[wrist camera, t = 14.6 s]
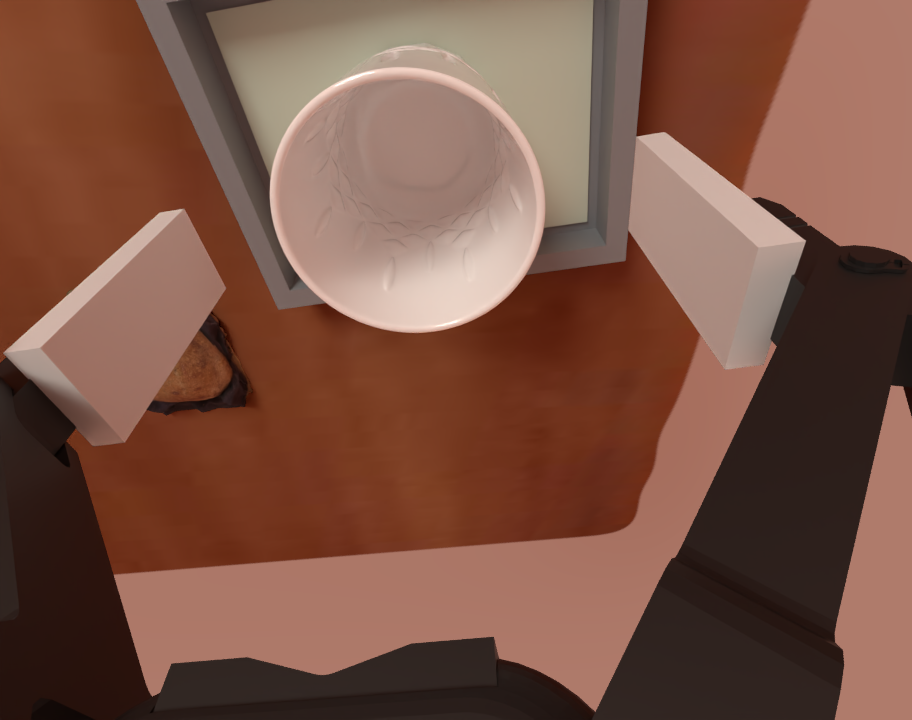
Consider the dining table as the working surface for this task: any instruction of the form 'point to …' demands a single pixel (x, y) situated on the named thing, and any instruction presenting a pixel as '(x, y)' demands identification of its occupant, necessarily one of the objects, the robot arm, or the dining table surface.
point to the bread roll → (204, 375)
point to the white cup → (408, 193)
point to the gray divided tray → (404, 23)
